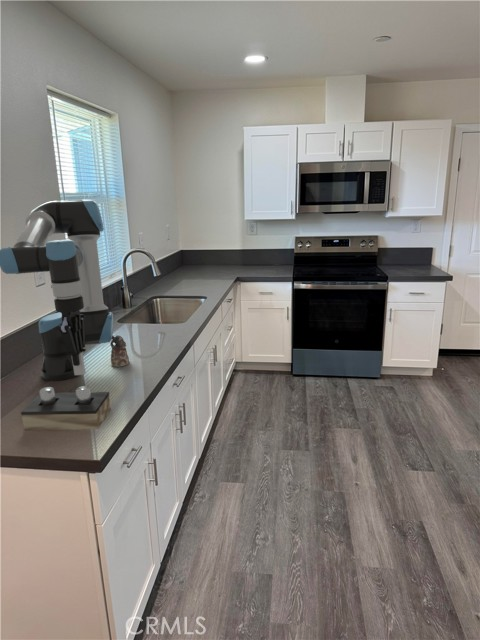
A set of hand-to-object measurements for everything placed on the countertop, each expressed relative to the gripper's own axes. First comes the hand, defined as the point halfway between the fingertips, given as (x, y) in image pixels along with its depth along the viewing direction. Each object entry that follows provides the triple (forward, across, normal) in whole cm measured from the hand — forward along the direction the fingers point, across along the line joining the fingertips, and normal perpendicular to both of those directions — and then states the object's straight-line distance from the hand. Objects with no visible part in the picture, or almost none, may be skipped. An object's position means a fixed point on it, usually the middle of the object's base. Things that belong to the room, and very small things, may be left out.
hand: (80, 374), depth 127 cm
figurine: (+15, -44, -3) cm, 47 cm away
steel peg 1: (+11, 0, -11) cm, 16 cm away
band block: (+15, 0, -6) cm, 16 cm away
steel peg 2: (+11, 0, 0) cm, 11 cm away
